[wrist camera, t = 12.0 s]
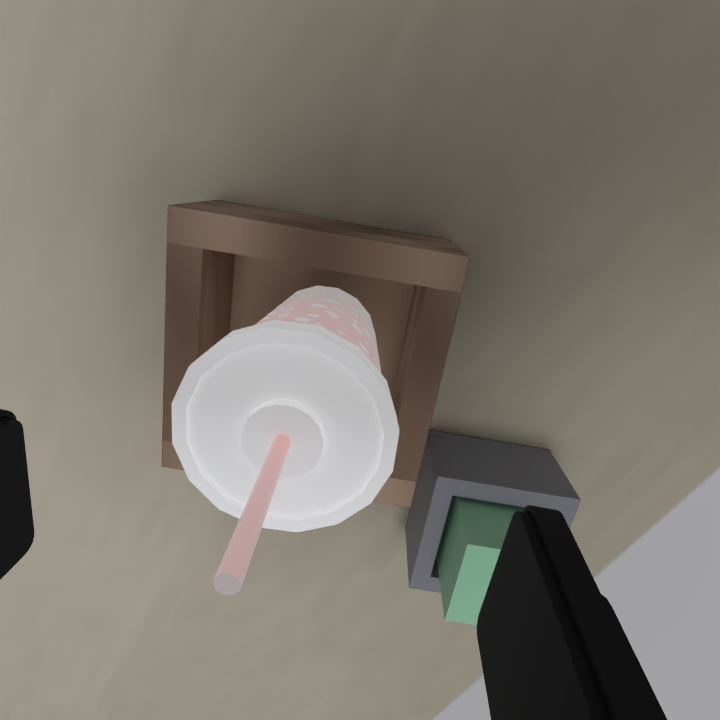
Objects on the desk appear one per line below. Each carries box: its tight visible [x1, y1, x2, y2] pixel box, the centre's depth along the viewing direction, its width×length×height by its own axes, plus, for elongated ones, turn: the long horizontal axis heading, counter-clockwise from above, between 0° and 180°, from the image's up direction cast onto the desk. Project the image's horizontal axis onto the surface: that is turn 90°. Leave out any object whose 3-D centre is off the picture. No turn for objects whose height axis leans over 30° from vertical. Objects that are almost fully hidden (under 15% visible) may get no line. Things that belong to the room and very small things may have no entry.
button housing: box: [405, 430, 580, 593], centre depth 23 cm, size 6×6×4 cm
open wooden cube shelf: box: [162, 200, 470, 507], centre depth 20 cm, size 10×10×5 cm
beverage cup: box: [171, 286, 399, 595], centre depth 15 cm, size 6×6×14 cm
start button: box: [436, 496, 525, 625], centre depth 21 cm, size 4×4×5 cm
